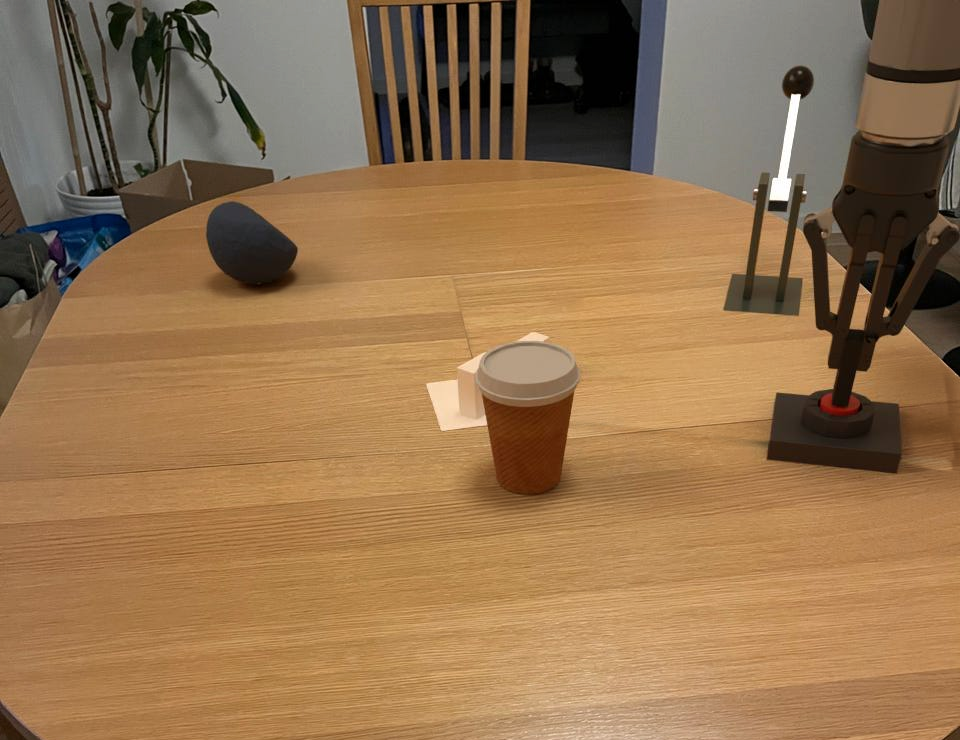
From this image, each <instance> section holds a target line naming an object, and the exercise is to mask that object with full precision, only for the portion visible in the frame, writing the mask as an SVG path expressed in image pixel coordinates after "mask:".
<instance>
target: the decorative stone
mask: <svg viewBox="0 0 960 740" xmlns="http://www.w3.org/2000/svg"><path fill="white" fill-rule="evenodd" d="M205 237H206V242H207V243H206V244H207V247H208V250H209V253H210V255H211V257H212V260H213V261H214V263H215V264H216V266H217V267H218V268H219V270H221V272H223V273H224V274H225V275H227V276H228V277H230V278H231V279H233V280H234V281H237V282H239V283H243V282H246V283H247V284H251V285H259V284H258V283H265V284H268V283H267V282H269V283H271V282H270V281H272V282H274V281H276V280H277V278H278V279H280V278H281V277H283V276H284V275H285V274H286V273H287V272H288V271H289V270H290V269H291V268H292V267H293V264H294V263H295V261H296V258H297V255H298V250H299V248H298V246H297V245H296V244H295V242H293V241H292V240H291V238H290V237H288V236H287V235H286V234H284V233H283V231H280V229H279V228H277V227H276V226H274V225H273V224H272V223H271V222H269V220H267V219H266V218H265V217H263V216H262V215H261V214H260V213H257V212H256V211H255V210H254V209H253V208H251V207H249V206H248V205H246V204H243V203H242V202H239V201H233V200H231V201H227V202H222V203H220V204H218V205H216V206H215V207H214V208H213V209H212V210H211V212H210V214H209V215H208V217H207V222H206V231H205ZM279 277H280V278H279ZM275 279H276V280H275ZM273 280H274V281H273Z"/></svg>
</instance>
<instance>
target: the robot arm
mask: <svg viewBox="0 0 960 740" xmlns="http://www.w3.org/2000/svg"><path fill="white" fill-rule="evenodd" d="M878 2H879V3H878V7H877V11H876V18H875V23H874V28H873V34H872V39H871V45H870V49H869V56H868V60H867V65H866V70H865V72H864V76H863V80H862V81H863V82H862V86H861V91H860V96H859V101H858V105H857V110H856V115H855V120H854V124H855V127H856V128H857V129H858V131H856V133H854V134H853V136H852V137H851V139H850V145H849V150H848V154H847V159H846V164H845V169H844V170H845V171H844V175H843V180H842V184H841V187H840V189H839V191H838V193H836V195H835V196H834V197H833V200H832V203H831V206H829V207H827V208H826V209H824V210H822V211H820V212H818V213H814V212H810V213H807V214H806V215H805V217H804V219H803V224H802V225H803V226H802V232H803V236H804V237H805V240H806V242H807V244H808V246H809V248H810V250H811V266H812V282H813V283H812V285H813V286H812V287H813V300H814V301H813V302H814V316H815V318H814V319H815V327H816V329H817V330H818V331H826V332H828V333H830V334H831V340H830V341H831V342H830V346H829V352H828V355H827V368H828V369H830V370H836V373H835V374H836V375H835V379H834V383H833V388H832V389H833V392H832V405H836V406H846V407H848V405H849V400H850V396H851V392H853V389H854V388H853V387H854V383H855V379H856V375H857V372H863V373H864V372H865V373H867V372H868V370H869V369H870V368H871V365H872V361H873V356H874V352H875V348H876V345H877V343H878V342H879V339H881V338H882V337H887V336H890V337H896V336H898V335H900V333H901V332H902V330H903V328H904V326H905V325H906V323H907V321H908V319H909V318H910V316H911V314H912V312H913V309H914V308H915V306H916V304H917V302H918V301H919V299H920V297H921V296H922V293H923V292H924V289H925V288H926V286H927V284H928V283H929V281H930V279H931V277H932V275H933V274H934V271H935V270H936V268H937V266H938V264H939V263H940V260H941V259H942V258H943V257H944V256H945V255H946V254H947V252H949V251H950V250H951V249H952V248H953V247H954V246H955V245H956V244H957V243H958V242H959V240H960V231H959V230H960V229H959V226H958V223H957V221H955V220H948V219H947V218H946V217H944V215H942V214H941V213H940V212H939V211H940V205H939V200H938V190H939V187H940V183H941V180H942V179H941V178H942V175H943V172H944V167H945V163H946V160H947V156H948V153H949V148H950V144H951V142H950V140H949V138H948V136H947V135H948V134H949V133H951V132H953V131H954V129H955V128H956V127H955V126H956V123H957V118H958V116H959V115H958V114H959V111H960V0H878ZM834 222H836V224H837V226H838V229H839V230H840V232H841V234H842V236H843V238H844V240H845V242H846V243H847V245H848V246H849V247H850V251H849V257H848V261H847V266H846V270H845V274H844V280H843V284H842V289H841V294H840V298H839V303H838V308H837V312H836V313H835V312H832V311H831V303H830V302H831V300H830V299H831V298H830V283H829V282H830V281H829V279H830V278H829V261H828V258H829V257H828V241H827V239H828V238H830V237H831V235H832V231H833V230H832V229H833V228H832V227H833V223H834ZM928 227H929V229H928V230H927V232H926V235H925V237H926V243H925V245H924V246H923V248H922V250H921V251H920V253H919V255H918V257H917V259H916V261H915V263H914V265H913V267H912V269H911V270H910V272H909V275H907V278H906V280H905V281H904V284H903V286H902V288H901V289H900V292H899V293H898V296H897V297H896V299H895V301H894V303H893V305H892V307H891V308H890V310H889V313H888V314H887V315H886V316H884V315H885V311H886V306H887V303H888V299H889V294H890V291H891V287H892V282H893V278H894V274H895V270H896V267H897V265H898V261H899V257H900V253H901V251H903V250H904V249H905V248H907V247H908V246H909V245H910V244H911V243H912V242H913V241H914V240H915V239H916V238H917V237H919V236H920V235H921V233H923V232H924V231H925V230H926V229H927V228H928ZM875 252H876V253H880V255H879V260H878V264H877V267H876V272H875V277H874V281H873V285H872V290H871V294H870V298H869V302H868V307H867V312H866V315H865V319H864V323H863V324H864V326H863V329H857V328H851V324H852V321H853V316H854V311H855V308H856V307H855V306H856V302H857V298H858V294H859V289H860V285H861V281H862V277H863V273H864V268H865V265H866V261H867V257H868V253H875Z"/></svg>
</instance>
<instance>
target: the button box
mask: <svg viewBox="0 0 960 740" xmlns="http://www.w3.org/2000/svg"><path fill="white" fill-rule="evenodd" d="M832 392H833V388H829V389H828V388H827V389H823V390H817V391H814V392H812V393H810V394H809V395H808V394H799V393H788V392H775V398H774V404H773V411H772V412H773V414H772V420H771V427H770V435H769V441H768V445H767V453H766V460H769V461H776V462H786V463H795V464H804V465H813V466H823V467H832V468H839V469H840V468H841V469H851V470H860V471H867V472H868V471H869V472H878V473H887V474H897V473H898V471H899V466H900V463H901V459H902V456H903V449H902V431H901V417H900V416H901V415H900V404H899V403H894V402H886V401H885V402H884V401H874V400H871V399H870V398H868V397H867V396H866V395H863V394H861V393H858V392H855V391H852V392H851V396H853V397H855V398H857V399H858V400H859V402H860V406H859V410H858V413H857V414H853V415H847V416H841V415H833V414H830V413H827V412H824V411H823V410H821V409H820V403H821V399H822V397H823V396H825V395H827V394H831V393H832Z"/></svg>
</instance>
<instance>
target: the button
mask: <svg viewBox="0 0 960 740" xmlns="http://www.w3.org/2000/svg"><path fill="white" fill-rule="evenodd" d="M859 406H860V402H859V400H858V399H857V398H855V397H853V396H850V400H849V405H848V407H846V406H836V405H832V393H831V394H827V395H825V396H823V397H822V399H821V403H820V409H821V410H823V411H824V412H827V413H830V414H833V415H841V416H847V415H853V414H857V413H858V410H859Z"/></svg>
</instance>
